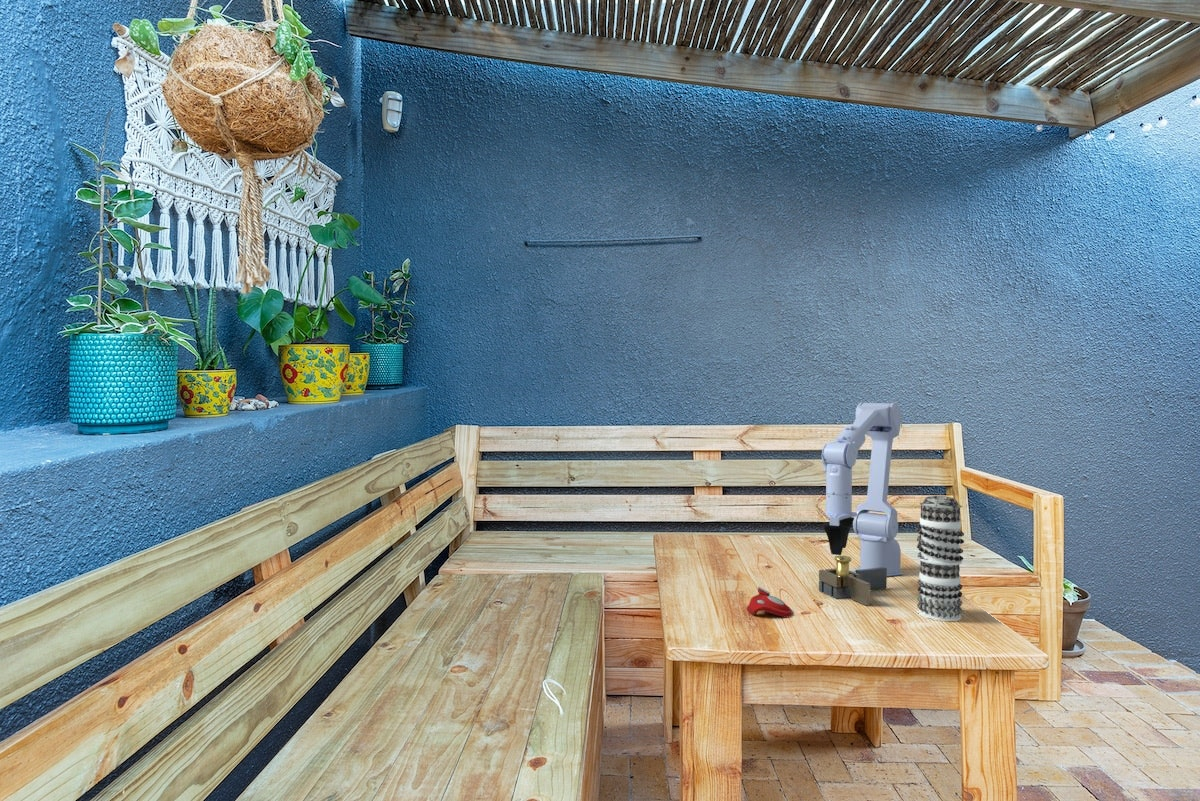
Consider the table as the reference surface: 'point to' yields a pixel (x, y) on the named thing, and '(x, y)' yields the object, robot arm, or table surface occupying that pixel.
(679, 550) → the table surface
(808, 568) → the table surface
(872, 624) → the table surface
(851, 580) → the swing leaf
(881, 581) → the fixed leaf
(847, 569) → the hinge pin
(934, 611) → the decorative candle
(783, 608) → the tracker holder
